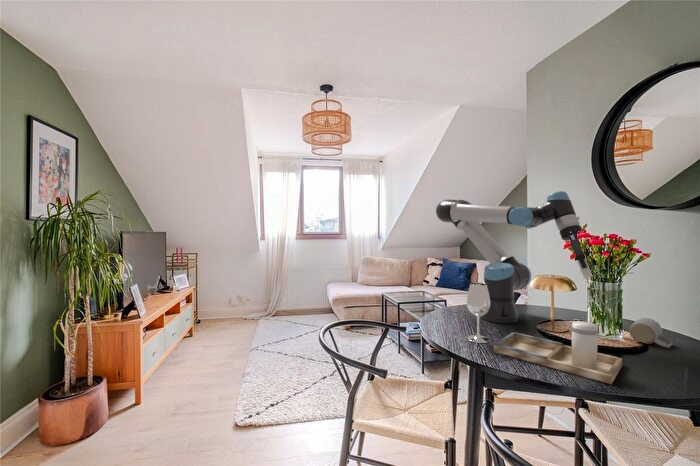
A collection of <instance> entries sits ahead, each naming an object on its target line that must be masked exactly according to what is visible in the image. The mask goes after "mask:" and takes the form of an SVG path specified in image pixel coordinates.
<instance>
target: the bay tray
mask: <svg viewBox="0 0 700 466" xmlns="http://www.w3.org/2000/svg"><path fill="white" fill-rule="evenodd" d="M493 354H496V355H499V354H500V355H505V356H509V357H512V358H516V359H519V360H522V361H527V362H529V363H533V364H537V365H540V366H544V367H548V368H551V369H555V370H559V371H563V372H565V373H568V374H569V373H570V374H573V375H577V376H580V377H584V378H586V379H591V380H594V381H598V382H602V383H605V384H608V385H613V382H614V381H615V379H616V377H617V376H618V373H620V370H621V369H622V367H623V358H622V357H618V356H613V355H610V354H605V353H601V352H597V369H596V370H590V369H587V368H583V367H579V366H575V365H572V345H571V346H570V345H565V344H563V342H559V341H554V340H551V339H546V338H542V337H538V336H534V335H533V336H532V335H529V334H525V333H519V332H515V331H513V332H510V333H509V334H508V335H506V336H504V337H503V338H501V339H499V340H497V341H496V342H494V343H493Z"/></svg>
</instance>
